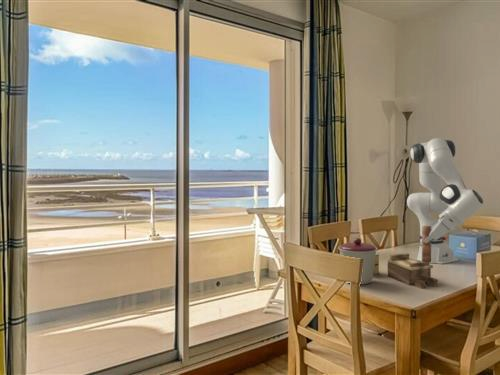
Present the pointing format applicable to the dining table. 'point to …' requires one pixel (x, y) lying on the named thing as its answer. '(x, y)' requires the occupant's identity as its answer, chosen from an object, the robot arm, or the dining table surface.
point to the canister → (363, 252)
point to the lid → (408, 262)
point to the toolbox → (411, 276)
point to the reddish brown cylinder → (426, 244)
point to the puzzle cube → (376, 265)
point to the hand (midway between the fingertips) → (425, 240)
